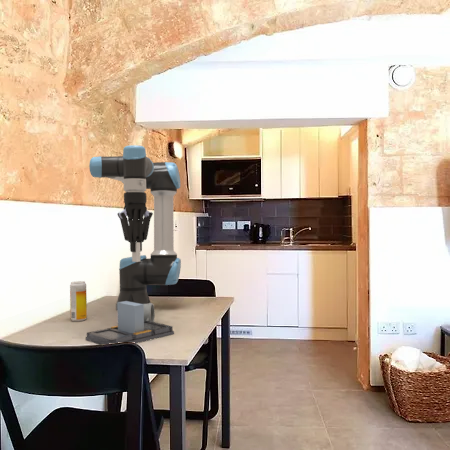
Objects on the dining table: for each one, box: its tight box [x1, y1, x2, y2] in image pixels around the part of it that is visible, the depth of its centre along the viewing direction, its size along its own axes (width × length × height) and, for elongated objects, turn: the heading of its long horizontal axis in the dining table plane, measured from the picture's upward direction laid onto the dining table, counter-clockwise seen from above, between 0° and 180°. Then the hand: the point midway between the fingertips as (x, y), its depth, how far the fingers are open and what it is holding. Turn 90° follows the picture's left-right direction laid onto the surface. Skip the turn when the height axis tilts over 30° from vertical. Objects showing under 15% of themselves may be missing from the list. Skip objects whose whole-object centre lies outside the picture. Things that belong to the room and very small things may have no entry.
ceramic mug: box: [144, 302, 156, 322], centre depth 172 cm, size 11×8×8 cm
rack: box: [85, 321, 175, 345], centre depth 154 cm, size 16×24×3 cm, turn 136°
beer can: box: [69, 280, 88, 322], centre depth 181 cm, size 6×6×15 cm
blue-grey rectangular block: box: [116, 301, 144, 334], centre depth 154 cm, size 10×4×10 cm, turn 46°
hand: (136, 261), depth 157 cm, fingers closed
